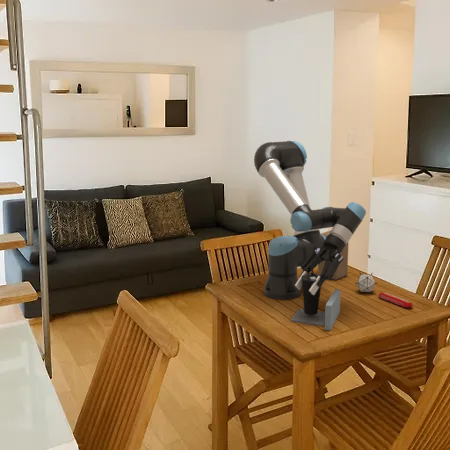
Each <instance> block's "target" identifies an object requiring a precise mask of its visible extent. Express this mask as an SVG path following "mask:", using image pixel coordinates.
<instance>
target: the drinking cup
mask: <svg viewBox="0 0 450 450" xmlns="http://www.w3.org/2000/svg"><path fill="white" fill-rule="evenodd" d="M313 262H314V260H312V265H311V272H310V273H308V274H305V275H302V277H301V278H302V285H303V286H302V296H303V297H302V298H303V309H304V313H305V314H308V315H315V314H317V313H318V311H319V306H320V305H319V304H320V297H321V289H322V286H321V287H319V288H318V290H317V291H316V293H315V295H312V294H311V292H310V291H309V290H310V288H311V286H312V285H313V283H314V282H316V281H317V280H316V279H317V277H318V276H320V275H318V273H316V272H314V269H313ZM320 277H321V276H320Z"/></svg>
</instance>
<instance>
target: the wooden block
mask: <svg viewBox="0 0 450 450" xmlns="http://www.w3.org/2000/svg"><path fill="white" fill-rule="evenodd" d="M330 231H331V230H327V231H325V232H320V234H321V235H324V236H325V237H327V236H328V235H329V234H330ZM349 241H350V240H349ZM349 241H348V243H347V244H346V246H345V248H344V249H343V251H342V252H341V253H339V254H341V256H342V257H343V258H344V260H343V261H342V262H341V263H340V264H339V266H338V268H337V270H336V272H335V274H334V275H333V277H332V279H331V280H332V281H333V280H334V281H337V280H339V279H342V278H344V277H347V276H348V268H349V267H348V264H349V263H348V262H349ZM324 264H325V261H323V262H321V263H319V264H318V265H317V266H318V267H317V269H318V270H317V274H318V275H320V274H321V273H322V270H323V267H324Z"/></svg>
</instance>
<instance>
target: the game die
mask: <svg viewBox="0 0 450 450" xmlns="http://www.w3.org/2000/svg"><path fill="white" fill-rule="evenodd" d="M354 284H356V285H357V287H358V290H359V294H361V293H363V292H365V293H366V292H367V293H371V294H374V292H373V290H374V288H375V285H377V284H378V282H376V280H375V279H374V277H373V272H371V274H363V273H361V272H359V277H358V279H357V282H354Z"/></svg>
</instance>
